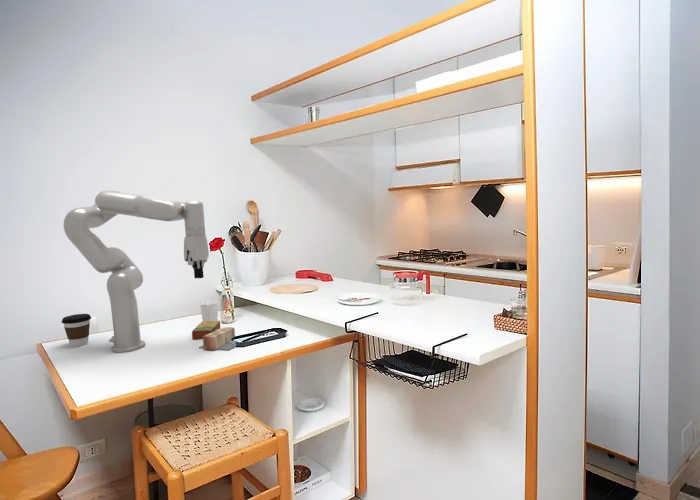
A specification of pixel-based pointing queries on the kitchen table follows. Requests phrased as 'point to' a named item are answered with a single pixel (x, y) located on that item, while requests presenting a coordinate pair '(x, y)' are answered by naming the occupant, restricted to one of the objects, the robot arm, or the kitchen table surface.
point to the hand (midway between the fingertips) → (199, 277)
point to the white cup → (209, 310)
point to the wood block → (218, 338)
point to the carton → (205, 329)
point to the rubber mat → (223, 347)
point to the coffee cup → (77, 328)
